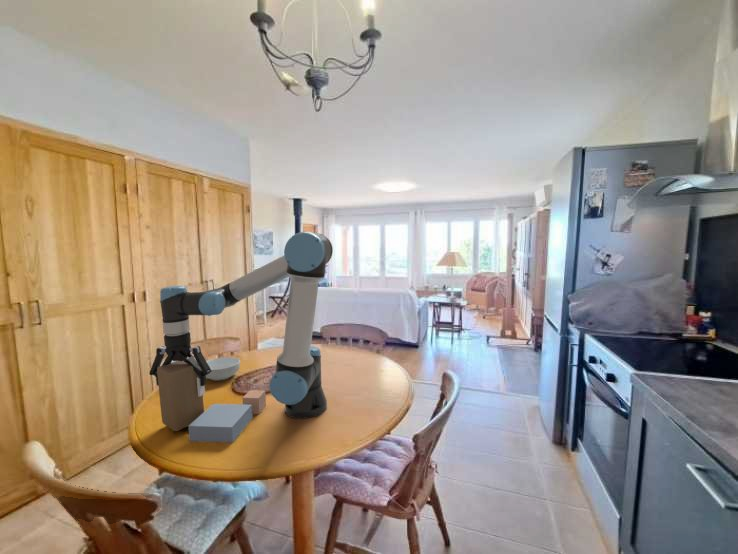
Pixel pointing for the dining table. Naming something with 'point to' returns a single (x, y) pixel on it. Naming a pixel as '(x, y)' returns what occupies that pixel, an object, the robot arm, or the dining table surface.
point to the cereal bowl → (223, 368)
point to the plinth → (220, 423)
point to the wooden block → (179, 395)
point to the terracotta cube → (255, 400)
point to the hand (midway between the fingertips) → (182, 394)
